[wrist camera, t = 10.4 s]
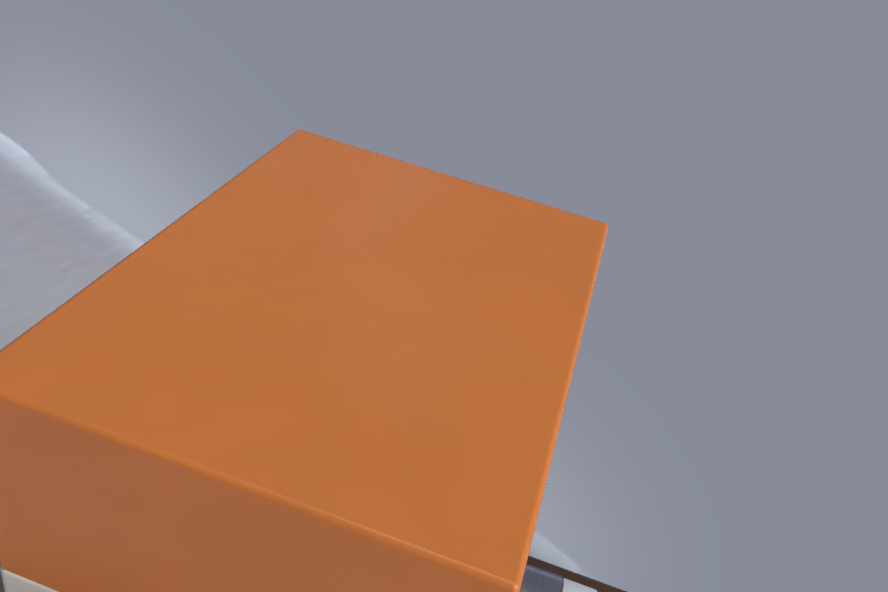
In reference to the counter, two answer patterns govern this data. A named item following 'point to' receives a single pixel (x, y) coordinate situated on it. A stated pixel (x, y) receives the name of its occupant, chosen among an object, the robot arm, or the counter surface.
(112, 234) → the counter surface
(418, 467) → the packet
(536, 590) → the robot arm
